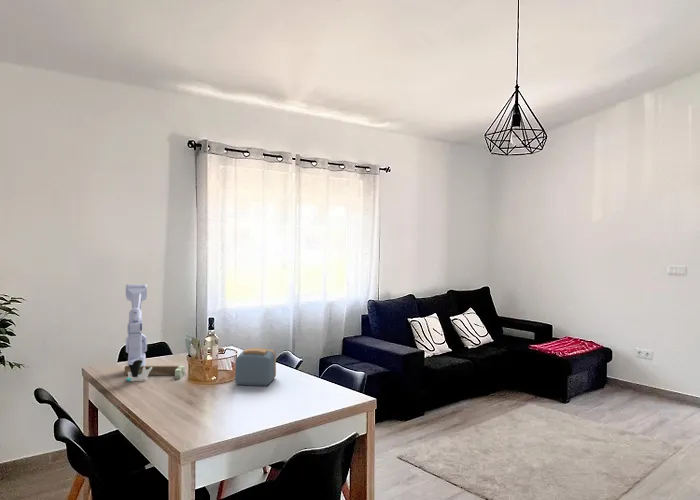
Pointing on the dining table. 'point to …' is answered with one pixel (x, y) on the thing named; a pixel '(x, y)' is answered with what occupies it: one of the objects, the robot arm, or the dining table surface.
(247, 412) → the dining table surface
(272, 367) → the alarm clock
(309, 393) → the dining table surface
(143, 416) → the dining table surface
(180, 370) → the cleat board
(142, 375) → the jawbone
